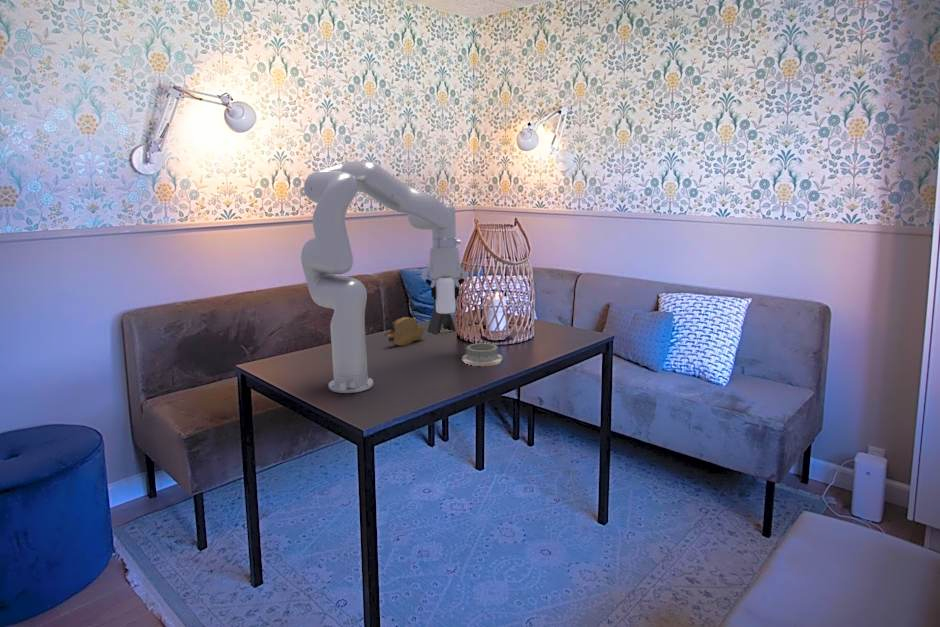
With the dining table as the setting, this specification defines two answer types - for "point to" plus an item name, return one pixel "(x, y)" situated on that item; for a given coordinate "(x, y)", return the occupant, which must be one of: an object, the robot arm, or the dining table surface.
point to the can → (445, 295)
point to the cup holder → (482, 355)
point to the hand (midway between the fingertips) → (445, 298)
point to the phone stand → (440, 321)
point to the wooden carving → (404, 331)
